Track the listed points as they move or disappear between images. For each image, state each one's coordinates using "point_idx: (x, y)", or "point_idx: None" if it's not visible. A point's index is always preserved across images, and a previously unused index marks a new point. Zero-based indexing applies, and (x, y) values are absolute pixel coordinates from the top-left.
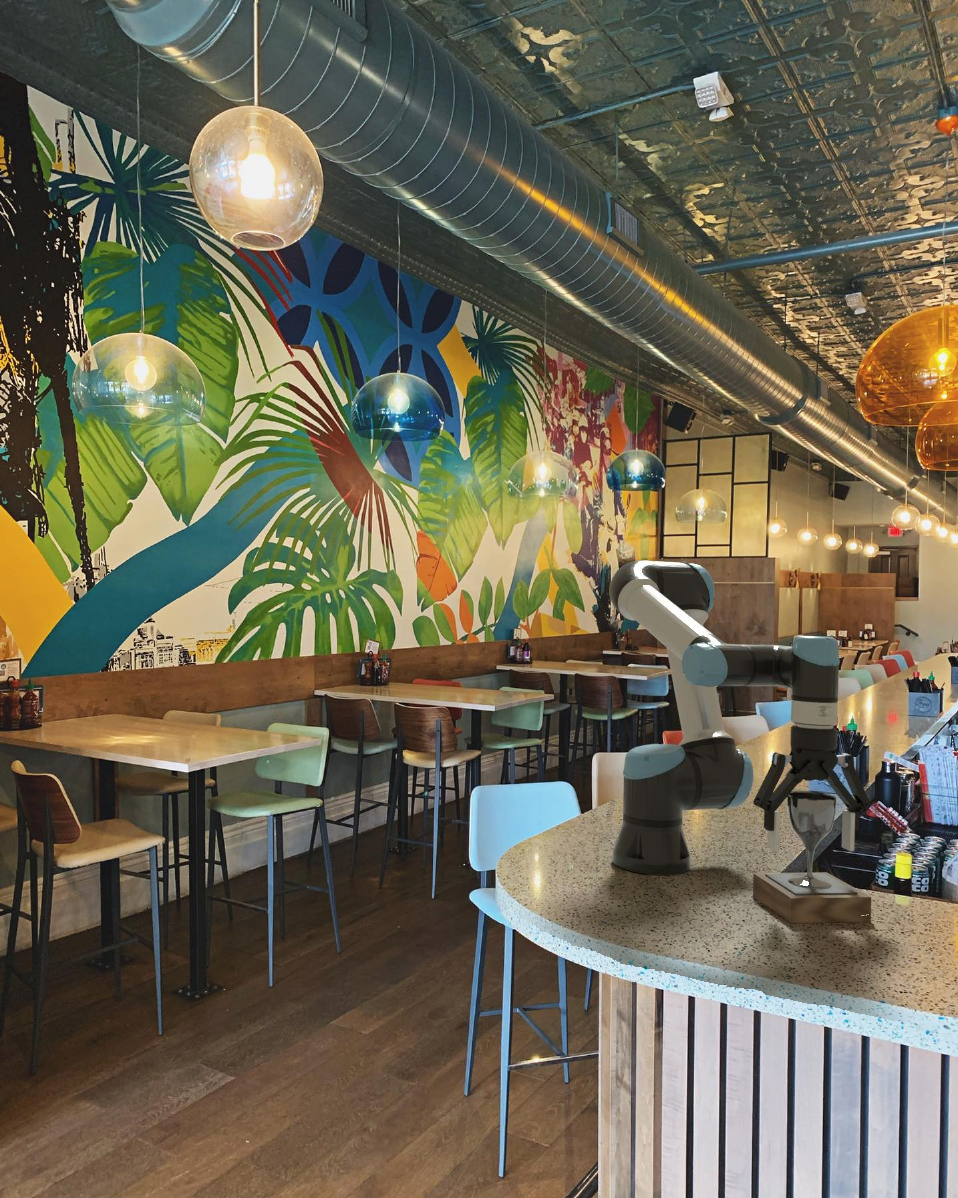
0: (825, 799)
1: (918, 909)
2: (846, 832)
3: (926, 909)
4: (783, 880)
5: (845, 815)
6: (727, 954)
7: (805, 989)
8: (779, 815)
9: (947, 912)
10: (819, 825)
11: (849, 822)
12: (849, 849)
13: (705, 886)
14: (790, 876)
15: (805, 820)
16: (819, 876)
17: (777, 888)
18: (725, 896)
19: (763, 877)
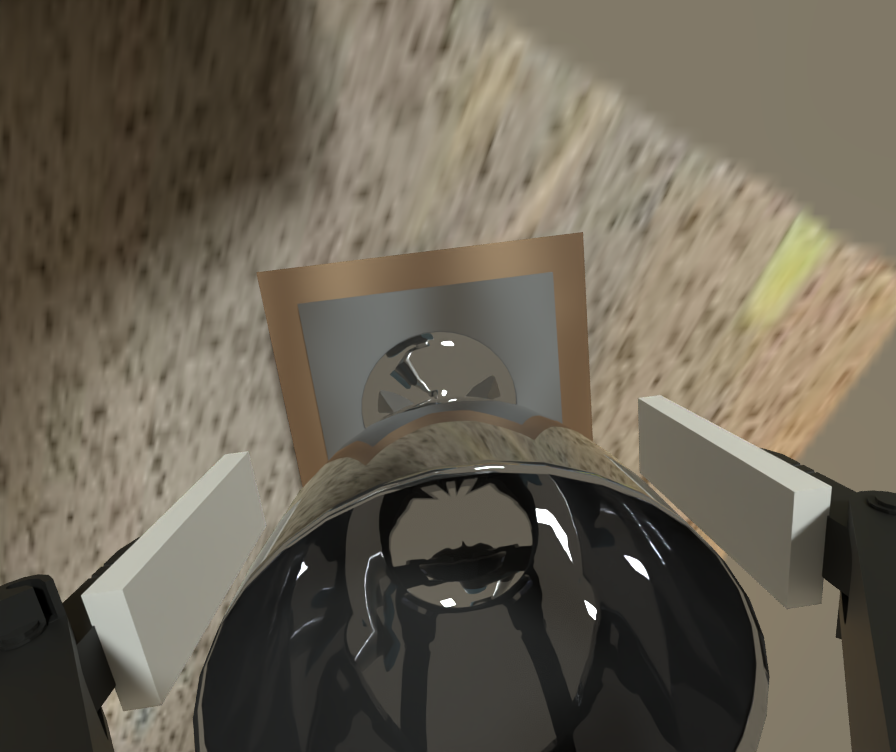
0: (695, 551)
1: (777, 364)
2: (687, 478)
3: (802, 361)
4: (347, 388)
5: (762, 517)
6: (112, 725)
7: None
8: (165, 687)
9: (846, 383)
10: (461, 679)
11: (733, 545)
12: (642, 471)
13: (120, 161)
14: (394, 330)
15: (370, 687)
16: (515, 320)
17: (301, 463)
18: (181, 283)
19: (284, 331)
